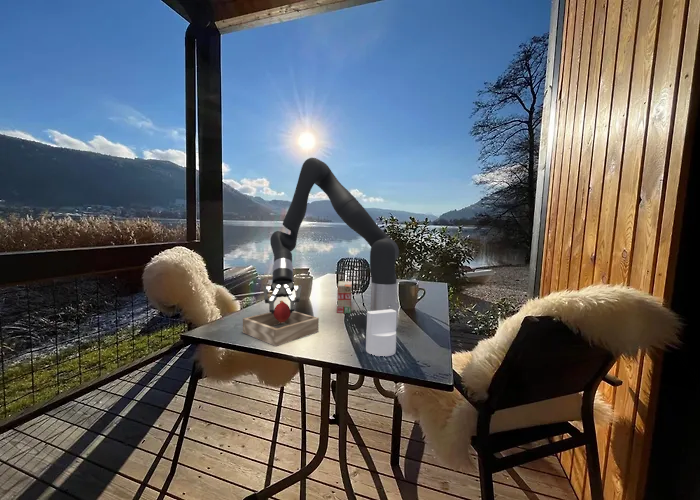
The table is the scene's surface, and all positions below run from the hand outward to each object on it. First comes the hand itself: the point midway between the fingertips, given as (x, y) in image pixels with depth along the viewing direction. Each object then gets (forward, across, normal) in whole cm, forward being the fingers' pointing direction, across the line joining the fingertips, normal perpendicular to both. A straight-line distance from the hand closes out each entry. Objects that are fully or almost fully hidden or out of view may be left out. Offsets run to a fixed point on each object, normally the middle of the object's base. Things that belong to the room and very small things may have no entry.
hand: (281, 312), depth 104 cm
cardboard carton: (-18, +28, +30) cm, 45 cm away
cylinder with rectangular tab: (+19, +30, -7) cm, 36 cm away
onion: (+2, 0, +4) cm, 5 cm away
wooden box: (+4, 0, +7) cm, 8 cm away
